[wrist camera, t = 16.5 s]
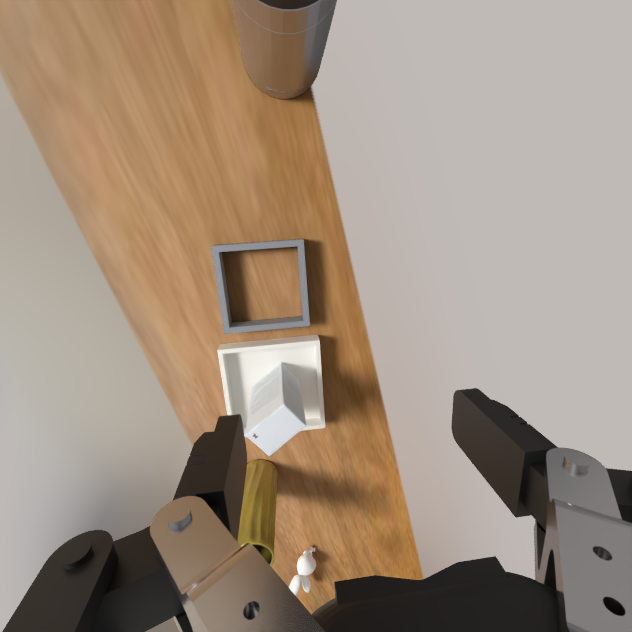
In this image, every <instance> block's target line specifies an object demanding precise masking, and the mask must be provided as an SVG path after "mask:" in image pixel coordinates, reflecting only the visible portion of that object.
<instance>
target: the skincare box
mask: <svg viewBox="0 0 632 632" xmlns="http://www.w3.org/2000/svg"><path fill="white" fill-rule="evenodd" d="M304 427H306V419H305V413H304V407H303V401H302V394H301V388H300V382H299V380H298V379H297V378H296V377H295V376H294V375H293V374H292V373H291V372H290V370H289V369H288V368H287V367H286V366H285V365H284V364H283V363H280V364H279V365H278V366H277V367H275V368H274V369H273V370H272V371H271V372H269V373H268V374H267V375H266V376H265V377H263V378H262V379H261V380H260V381H259V382H258V383H256V384H255V385H254V386H253V387H252V390H251V397H250V404H249V411H248V418H247V425H246V432H245V436H246V437H247V438H249V439H250V440H251V441H252V442H253V443H255V444H256V445H257V446H258V447H259V448H260V449H261V450H262V451H264V452H265V453H266V454H267V455H268V456H271V455H272V454H273V453H274V452H275V451H277V450H278V449H279V448H280V447H282V446H283V445H284V444H285V443H286V442H288V441H289V440H290V439H291V438H292V437H293V436H295V435H296V434H297V433H298V432H299V431H301V430H302V429H303V428H304Z"/></svg>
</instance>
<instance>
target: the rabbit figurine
mask: <svg viewBox="0 0 632 632" xmlns="http://www.w3.org/2000/svg"><path fill="white" fill-rule="evenodd" d="M313 551H314V552H315V547H314V548H312V547H310V549H307V550H305V551H304V553H303V555H302V556H300V558H299V559H298V562H297V570H298V573H299V575H295V576H294V577H293V579H292V581H291V583H290V586H289V589H290V590H291V591H292V592H293V593H294V595H295V596H296V595H297V593H298V591H299V588H300V585H301V580H302V586H303V589H304V590H305V592H307V593H308V592H309V591H310V585H311V584H310V579H309V577H308V575H309V574H311V573H312V572H313V571H314V570H315V568H316V561H315V559H314V558H313V557H312V552H313ZM309 552H310V553H309ZM306 553H307V554H306ZM300 576H301V577H300Z"/></svg>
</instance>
